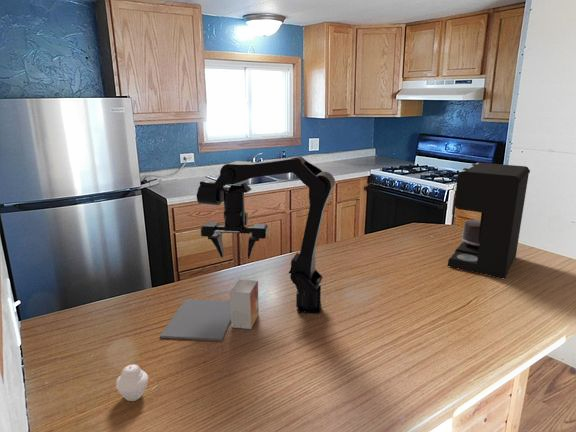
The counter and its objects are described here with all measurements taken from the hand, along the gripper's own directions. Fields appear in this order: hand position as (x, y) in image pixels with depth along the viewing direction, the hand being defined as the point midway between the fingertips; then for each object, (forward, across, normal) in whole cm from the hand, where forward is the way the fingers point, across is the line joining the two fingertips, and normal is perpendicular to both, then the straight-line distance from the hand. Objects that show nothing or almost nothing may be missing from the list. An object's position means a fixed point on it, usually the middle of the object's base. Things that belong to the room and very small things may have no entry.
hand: (235, 257), depth 121 cm
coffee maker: (+12, -85, -38) cm, 94 cm away
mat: (+13, +7, +13) cm, 20 cm away
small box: (+13, -5, +13) cm, 19 cm away
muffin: (+13, +12, +44) cm, 47 cm away
